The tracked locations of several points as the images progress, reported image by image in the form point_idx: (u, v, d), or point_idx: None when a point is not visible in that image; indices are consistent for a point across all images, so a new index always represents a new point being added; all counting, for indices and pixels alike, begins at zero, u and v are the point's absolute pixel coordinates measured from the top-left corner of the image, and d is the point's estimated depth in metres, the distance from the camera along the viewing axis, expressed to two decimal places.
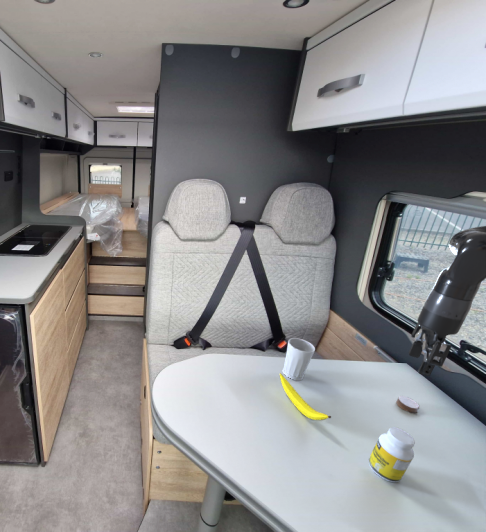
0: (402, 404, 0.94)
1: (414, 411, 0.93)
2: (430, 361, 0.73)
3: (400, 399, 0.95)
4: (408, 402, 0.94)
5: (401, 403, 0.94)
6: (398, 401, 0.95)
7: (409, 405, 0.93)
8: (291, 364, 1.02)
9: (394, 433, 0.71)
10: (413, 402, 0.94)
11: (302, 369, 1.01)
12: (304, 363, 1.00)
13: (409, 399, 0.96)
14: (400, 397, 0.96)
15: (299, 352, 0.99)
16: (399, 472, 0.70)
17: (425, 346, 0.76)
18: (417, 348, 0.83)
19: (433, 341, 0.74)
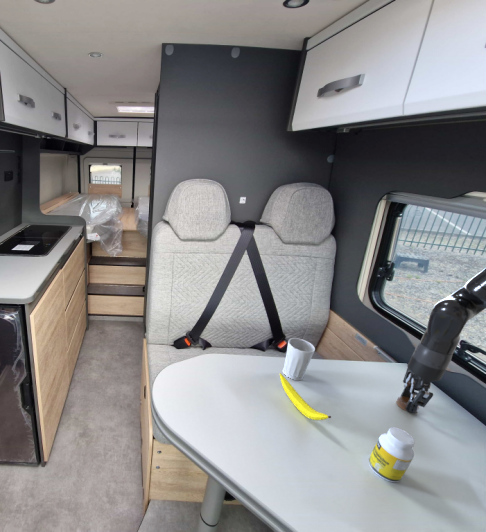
0: (402, 404, 0.94)
1: None
2: (415, 402, 0.89)
3: (400, 399, 0.95)
4: None
5: (401, 403, 0.94)
6: (398, 401, 0.95)
7: None
8: (291, 364, 1.02)
9: (394, 433, 0.71)
10: None
11: (302, 369, 1.01)
12: (304, 363, 1.00)
13: (409, 399, 0.96)
14: (400, 397, 0.96)
15: (299, 352, 0.99)
16: (399, 472, 0.70)
17: (412, 389, 0.91)
18: (407, 393, 0.96)
19: (420, 386, 0.88)
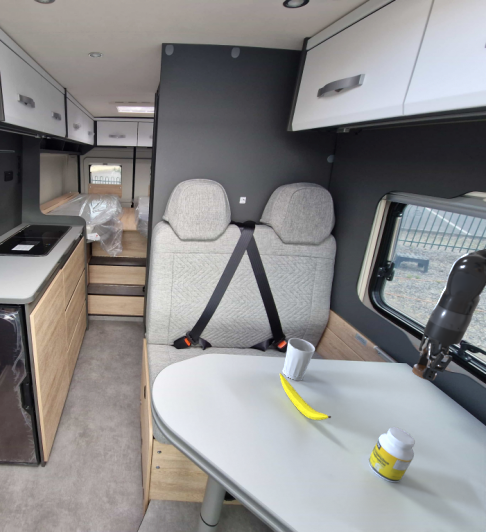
0: (419, 372, 0.89)
1: None
2: (432, 367, 0.84)
3: (416, 367, 0.91)
4: (424, 369, 0.90)
5: (418, 371, 0.90)
6: (414, 369, 0.91)
7: None
8: (291, 364, 1.02)
9: (394, 433, 0.71)
10: None
11: (302, 369, 1.01)
12: (304, 363, 1.00)
13: None
14: (416, 365, 0.92)
15: (299, 352, 0.99)
16: (399, 472, 0.70)
17: (429, 355, 0.86)
18: (424, 361, 0.91)
19: (438, 350, 0.84)
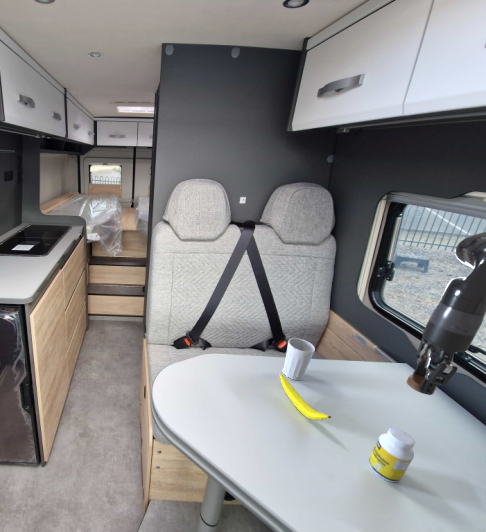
0: (415, 384, 0.73)
1: None
2: (432, 379, 0.68)
3: (411, 378, 0.74)
4: None
5: (413, 382, 0.73)
6: (409, 380, 0.74)
7: None
8: (291, 364, 1.02)
9: (394, 433, 0.71)
10: None
11: (302, 369, 1.01)
12: (304, 363, 1.00)
13: (423, 378, 0.74)
14: (412, 375, 0.75)
15: (299, 352, 0.99)
16: (399, 472, 0.70)
17: (429, 364, 0.70)
18: (422, 370, 0.75)
19: (439, 358, 0.67)
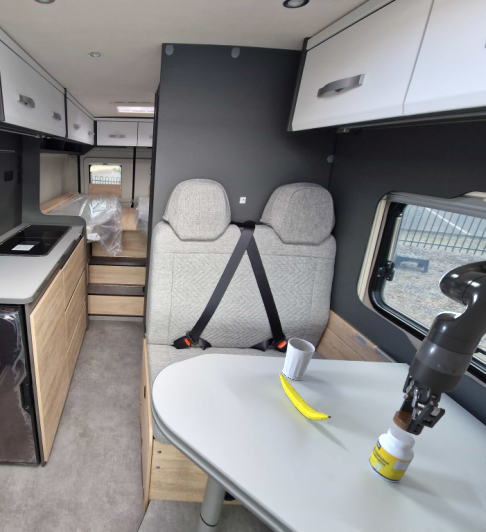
0: (401, 423, 0.68)
1: None
2: (419, 421, 0.63)
3: (397, 415, 0.70)
4: (409, 419, 0.69)
5: (400, 421, 0.68)
6: (395, 418, 0.70)
7: None
8: (291, 364, 1.02)
9: (394, 433, 0.71)
10: None
11: (302, 369, 1.01)
12: (304, 363, 1.00)
13: (410, 415, 0.70)
14: (398, 412, 0.70)
15: (299, 352, 0.99)
16: (399, 472, 0.70)
17: (415, 403, 0.65)
18: (409, 407, 0.70)
19: (426, 398, 0.63)
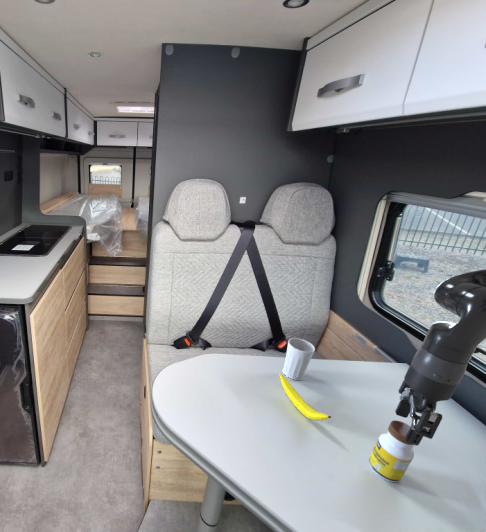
0: (396, 433, 0.69)
1: None
2: (418, 431, 0.62)
3: (392, 425, 0.71)
4: (403, 429, 0.70)
5: (395, 431, 0.70)
6: (390, 428, 0.71)
7: (405, 434, 0.69)
8: (291, 364, 1.02)
9: None
10: None
11: (302, 369, 1.01)
12: (304, 363, 1.00)
13: (405, 425, 0.71)
14: (393, 422, 0.72)
15: (299, 352, 0.99)
16: (399, 472, 0.70)
17: (413, 411, 0.65)
18: (404, 407, 0.72)
19: (422, 407, 0.64)
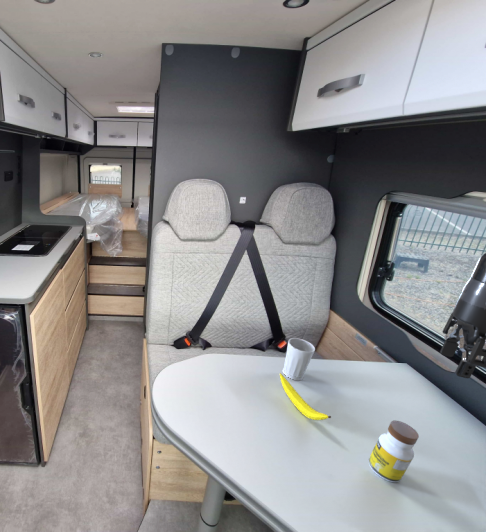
0: (396, 433, 0.69)
1: (412, 443, 0.68)
2: (471, 361, 0.63)
3: (392, 425, 0.71)
4: (403, 429, 0.70)
5: (395, 431, 0.70)
6: (390, 428, 0.71)
7: (405, 434, 0.69)
8: (291, 364, 1.02)
9: None
10: (410, 430, 0.70)
11: (302, 369, 1.01)
12: (304, 363, 1.00)
13: (405, 425, 0.71)
14: (393, 422, 0.72)
15: (299, 352, 0.99)
16: (399, 472, 0.70)
17: (463, 344, 0.65)
18: (450, 346, 0.72)
19: (474, 338, 0.64)
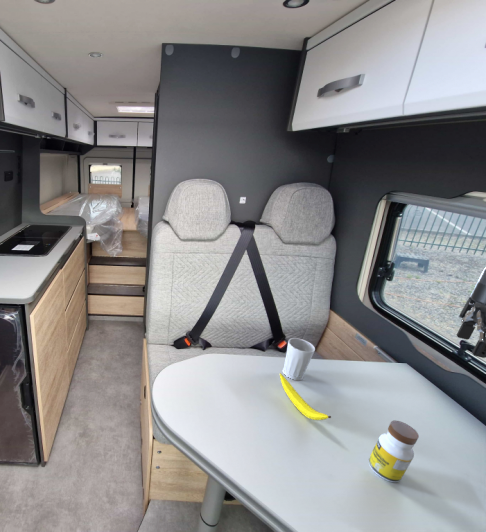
0: (396, 433, 0.69)
1: (412, 443, 0.68)
2: None
3: (392, 426, 0.71)
4: (403, 430, 0.70)
5: (395, 431, 0.70)
6: (390, 428, 0.71)
7: (405, 434, 0.69)
8: (291, 364, 1.02)
9: None
10: (410, 430, 0.70)
11: (302, 369, 1.01)
12: (304, 363, 1.00)
13: (405, 425, 0.71)
14: (393, 422, 0.72)
15: (299, 352, 0.99)
16: (399, 472, 0.70)
17: (481, 325, 0.69)
18: (467, 329, 0.76)
19: None
